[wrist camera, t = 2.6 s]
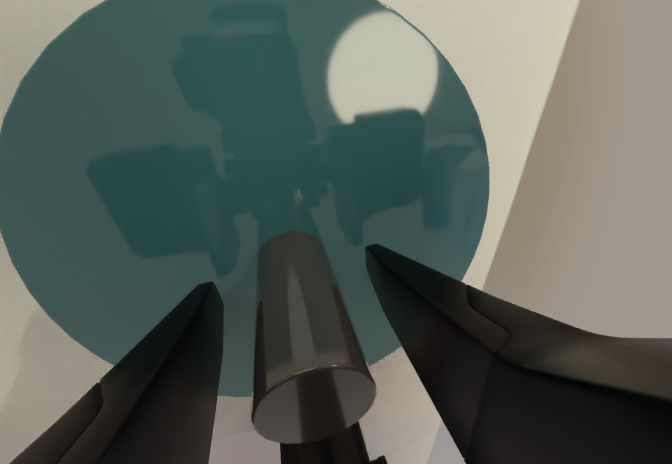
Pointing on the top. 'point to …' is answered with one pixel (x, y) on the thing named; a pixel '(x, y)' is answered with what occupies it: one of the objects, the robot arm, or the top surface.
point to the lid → (242, 186)
